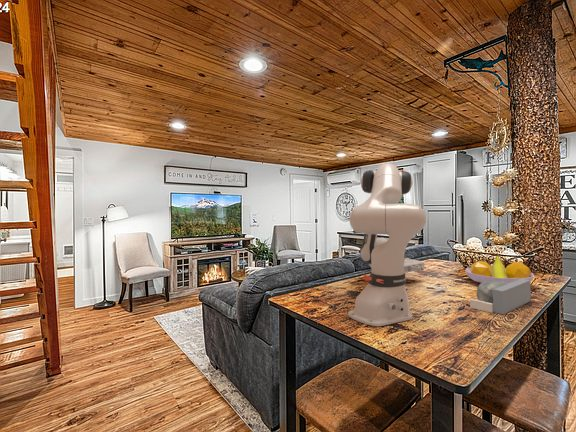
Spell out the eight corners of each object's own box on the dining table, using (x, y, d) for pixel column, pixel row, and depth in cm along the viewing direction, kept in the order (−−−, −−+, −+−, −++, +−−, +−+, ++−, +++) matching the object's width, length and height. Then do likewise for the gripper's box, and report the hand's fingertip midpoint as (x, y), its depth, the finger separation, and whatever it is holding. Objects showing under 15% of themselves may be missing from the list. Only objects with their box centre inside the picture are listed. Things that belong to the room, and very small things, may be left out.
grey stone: (488, 287, 120) (496, 269, 115) (512, 303, 113) (522, 284, 107) (466, 299, 115) (473, 281, 110) (489, 317, 108) (498, 298, 103)
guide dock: (501, 315, 98) (501, 291, 98) (470, 307, 106) (469, 285, 106) (531, 300, 112) (531, 279, 112) (502, 294, 121) (501, 275, 120)
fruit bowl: (525, 296, 118) (525, 268, 117) (455, 283, 139) (454, 260, 139) (544, 284, 134) (544, 259, 134) (478, 274, 156) (478, 253, 156)
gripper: (383, 261, 142) (408, 264, 130) (408, 257, 153) (434, 260, 141) (383, 274, 142) (408, 278, 130) (409, 269, 153) (434, 273, 141)
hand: (422, 269), depth 136 cm, fingers closed
